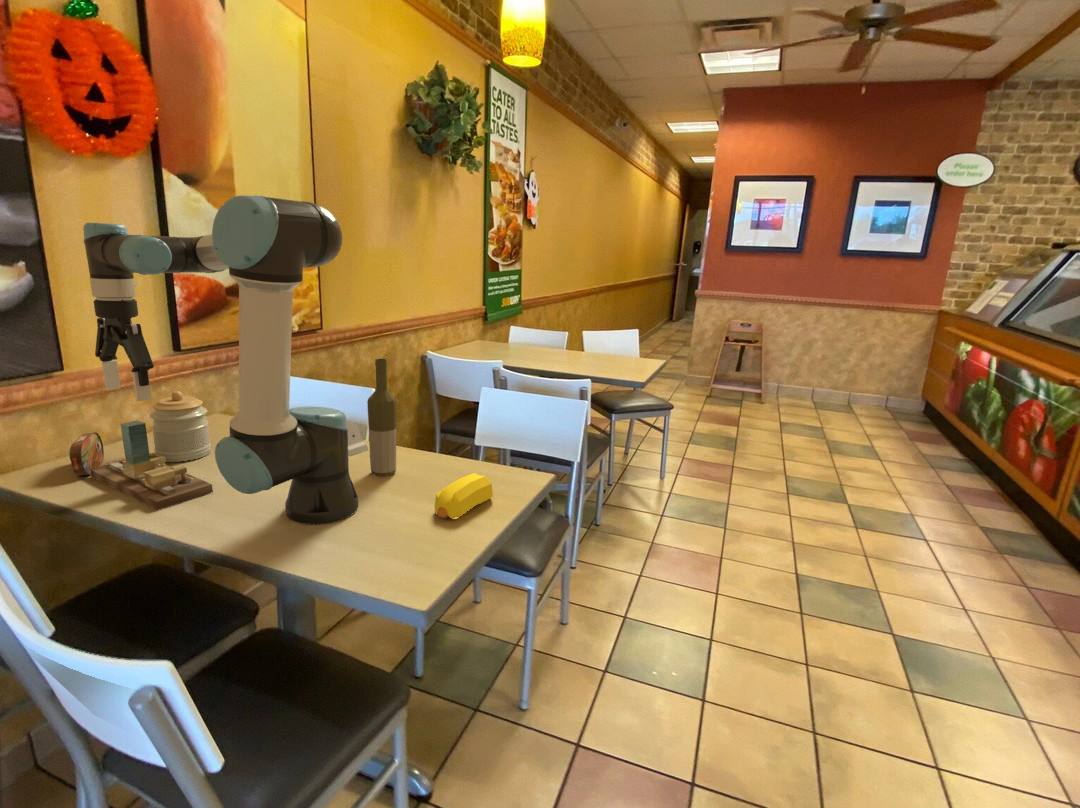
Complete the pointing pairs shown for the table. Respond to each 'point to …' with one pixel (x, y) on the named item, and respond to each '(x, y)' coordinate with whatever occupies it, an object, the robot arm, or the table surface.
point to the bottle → (382, 425)
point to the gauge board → (149, 492)
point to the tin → (86, 453)
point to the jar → (180, 428)
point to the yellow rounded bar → (463, 495)
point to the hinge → (355, 440)
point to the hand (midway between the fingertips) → (128, 394)
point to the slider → (137, 450)
